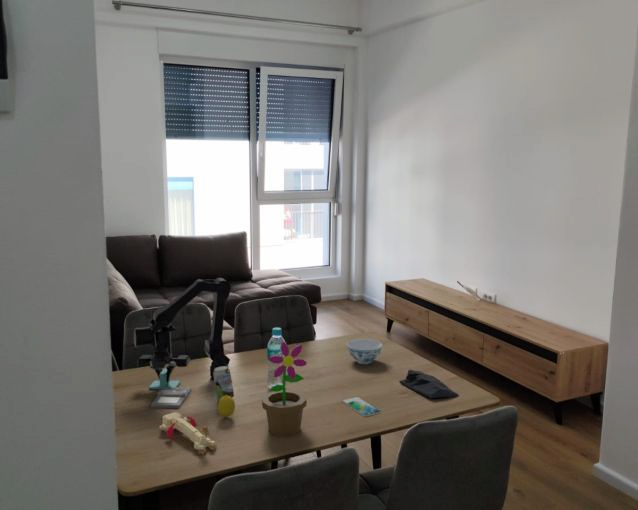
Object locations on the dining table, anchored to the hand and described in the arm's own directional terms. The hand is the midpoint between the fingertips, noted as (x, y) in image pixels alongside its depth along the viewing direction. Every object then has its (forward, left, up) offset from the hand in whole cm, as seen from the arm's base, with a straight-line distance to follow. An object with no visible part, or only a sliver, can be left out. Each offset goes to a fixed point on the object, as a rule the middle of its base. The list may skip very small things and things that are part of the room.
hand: (164, 382), depth 218 cm
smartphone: (-74, +16, -2) cm, 76 cm away
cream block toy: (-19, +41, -2) cm, 45 cm away
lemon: (-29, +27, -2) cm, 39 cm away
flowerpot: (-49, +34, -2) cm, 59 cm away
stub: (0, 0, -2) cm, 2 cm away
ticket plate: (-6, +12, -2) cm, 13 cm away
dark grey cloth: (-100, -2, -2) cm, 100 cm away
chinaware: (-77, -31, -2) cm, 83 cm away
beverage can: (-25, +12, -2) cm, 28 cm away
